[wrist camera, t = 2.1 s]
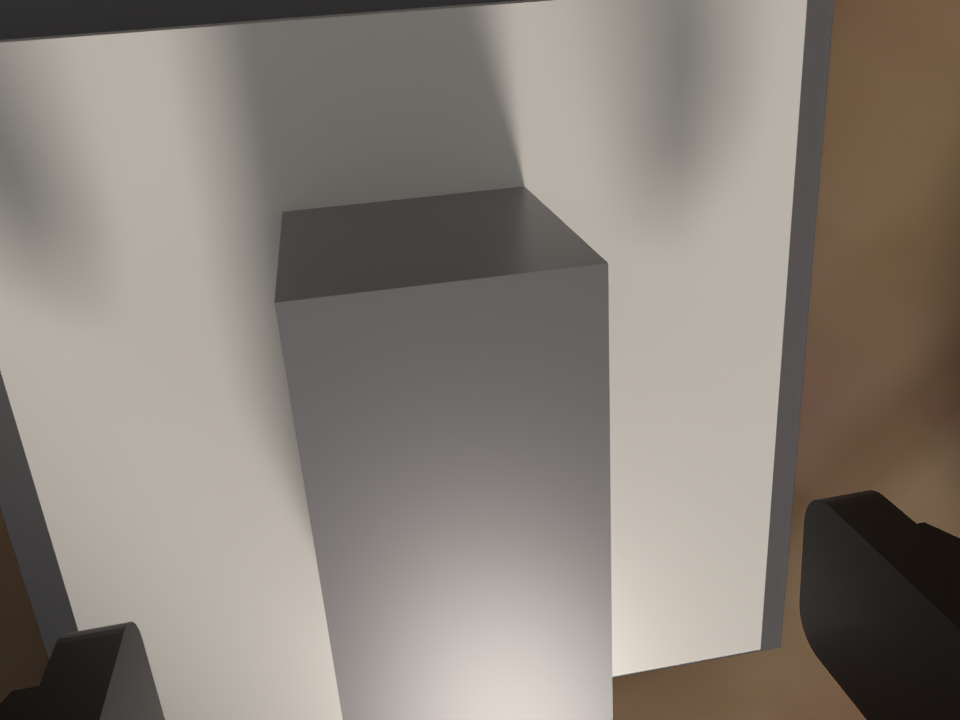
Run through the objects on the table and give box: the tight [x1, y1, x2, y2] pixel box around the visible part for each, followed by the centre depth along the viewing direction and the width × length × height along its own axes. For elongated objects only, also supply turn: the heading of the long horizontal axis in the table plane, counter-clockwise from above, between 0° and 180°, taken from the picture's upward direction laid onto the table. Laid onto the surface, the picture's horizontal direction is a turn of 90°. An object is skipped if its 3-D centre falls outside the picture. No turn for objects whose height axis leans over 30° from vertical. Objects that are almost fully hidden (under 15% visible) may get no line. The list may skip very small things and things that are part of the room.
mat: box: [0, 0, 834, 678], centre depth 16 cm, size 14×14×1 cm
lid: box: [0, 0, 807, 720], centre depth 13 cm, size 12×12×5 cm
